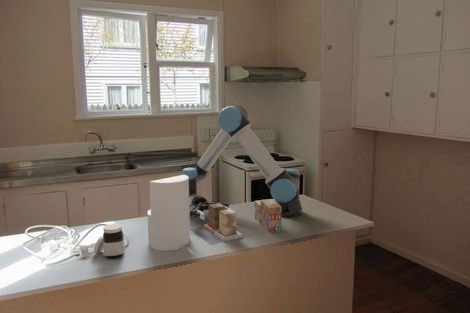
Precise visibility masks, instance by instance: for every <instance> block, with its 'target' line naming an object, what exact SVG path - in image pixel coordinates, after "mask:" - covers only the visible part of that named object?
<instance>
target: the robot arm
mask: <svg viewBox="0 0 470 313" xmlns="http://www.w3.org/2000/svg"><path fill="white" fill-rule="evenodd" d="M248 117H249V116H248V112H247V110H246V109H245V108H244V107H243V106H242V105H237V104H236V105H235V104H234V105H228V106H225V107H224V108H223V109H221V110H220V111H219V113H218V115H217V124H218V126H219V127H220V130H219V131H218V133H217V134H216V136H214V138H213V140H211V141H212V142H210V144H209V145H208V147H207V149H206V150H205V151H204V153H203V154H202V156H201V157H200V159H199V160H198V162H197V163H196V165H194V167H185V168H182V172H181V173H182V174H181V175H187V176H188V177H189V217H192V216H193V218H199V219H201V220H202V221H205V219H206V218H205V217H206V216H205V215H206V214H205V213H204V211H209V205H210V204H217V203H220V204H222V205H224V206H225V210H228V209H231V208H230V204H228V203H223V202H219V201H218V202H217V201H215V200H212V202H209V201H208V200H207V199H206V198H205V197H204V196H202V195H200V194H198V183H200V182H202V181H203V180H205V179H206V178H207V176H208V173H209V171H210V170H211V168H212V167H213V166H214V164H215V163H216V161H217V160H218V158H219V157H220V155H221V154H222V153H223V151H224V150H225V149H226V147H227V146H228V145H229V143H230V142H231V140H232V139H235V140H236V141H237V142H238V143H239V144H240V146H241V147H242V148H243V150H244V151H245V153H246V154H247V155H248V156H249V158H250V159H251V161H252V162H253V163H254V165H255V166H256V167H257V168H258V170H259V171H260V173H261V174H262V175H263V176H264V178H265V182H264V183H265V184H266V185H267V187H268V189H270V195H271V197H272V199H273V200H274V201H276V202H277V203H278V204H279V205H280V206H281V207H282V208H281V217H285V218H293V217H294V218H295V217H299V216H301V215H302V214H303V207H302V203H301V201H300V184H301V182H300V179H301V178H300V177H301V172H300V170H298V169H292V168H283V167H280V165H279V164H278V162H276V160H275V159H274V157H273V156H272V155H271V153H270V152H269V151H268V150H267V149H266V147H265V146H264V144H263V143H262V142H261V140H260V139H259V137H258V136H257V135H256V134H255V132H254V131H253V129H251V125H252V124H251V122H250V120H249V119H248Z"/></svg>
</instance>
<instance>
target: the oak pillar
mask: <svg viewBox="0 0 470 313" xmlns="http://www.w3.org/2000/svg"><path fill="white" fill-rule="evenodd" d="M236 224H237V212H236V211H235V210H233V209H231V208H230V209H228V210H222V211H219V233H220V234H221V235H223V236H224V237H226V236H230V235H235V234H236Z"/></svg>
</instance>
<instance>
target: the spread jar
mask: <svg viewBox="0 0 470 313" xmlns="http://www.w3.org/2000/svg"><path fill="white" fill-rule="evenodd" d="M124 240H125V238H124V231H123V226H122V224H119V223H110V224H106V225H105V226H103V234H102V235H101V236H100V237H98V239H97V241H96V243H95V245H94V248H93V252H94V253H95V254H97V255H98V254H100V253H101V252H102V251H103V256H104V258H106V259H109V260H110V259H111V260H114V259H119V258H121V257H123V256H124V254H125V241H124Z"/></svg>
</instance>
